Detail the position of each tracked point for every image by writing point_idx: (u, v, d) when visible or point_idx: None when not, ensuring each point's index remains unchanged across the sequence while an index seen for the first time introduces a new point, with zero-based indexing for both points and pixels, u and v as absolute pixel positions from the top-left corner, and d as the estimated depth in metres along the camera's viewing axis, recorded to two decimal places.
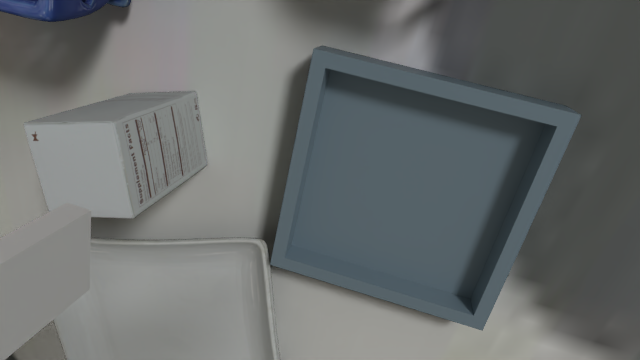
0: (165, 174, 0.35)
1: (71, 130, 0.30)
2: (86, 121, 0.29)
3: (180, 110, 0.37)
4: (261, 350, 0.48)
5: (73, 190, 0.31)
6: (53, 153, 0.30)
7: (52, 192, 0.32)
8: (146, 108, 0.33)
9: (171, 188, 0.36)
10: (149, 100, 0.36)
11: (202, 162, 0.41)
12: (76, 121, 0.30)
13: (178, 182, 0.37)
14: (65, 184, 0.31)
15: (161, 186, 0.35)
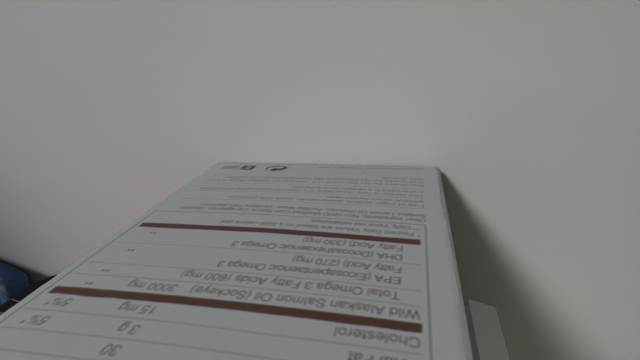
0: (352, 319, 0.06)
1: None
2: None
3: (194, 202, 0.11)
4: None
5: None
6: None
7: None
8: None
9: (449, 309, 0.06)
10: None
11: (421, 175, 0.12)
12: None
13: (439, 266, 0.08)
14: None
15: None
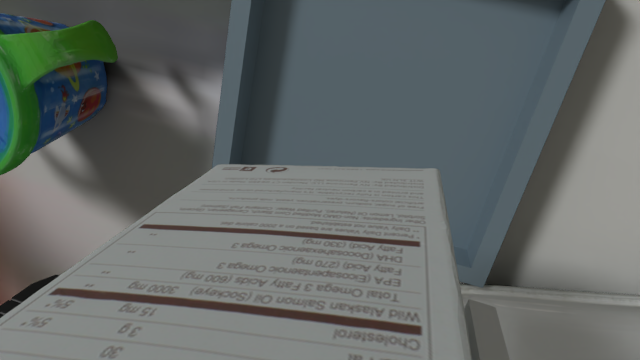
0: (351, 320, 0.06)
1: None
2: None
3: (194, 203, 0.11)
4: None
5: None
6: None
7: None
8: None
9: (449, 311, 0.06)
10: None
11: (421, 177, 0.12)
12: None
13: (439, 268, 0.08)
14: None
15: None
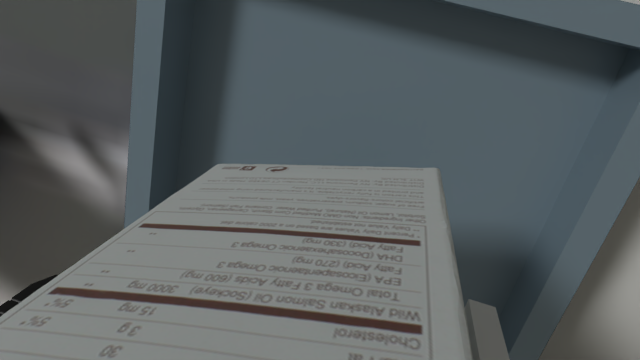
0: (352, 320, 0.06)
1: None
2: None
3: (194, 203, 0.11)
4: None
5: None
6: None
7: None
8: None
9: (449, 310, 0.06)
10: None
11: (421, 177, 0.12)
12: None
13: (439, 268, 0.08)
14: None
15: None
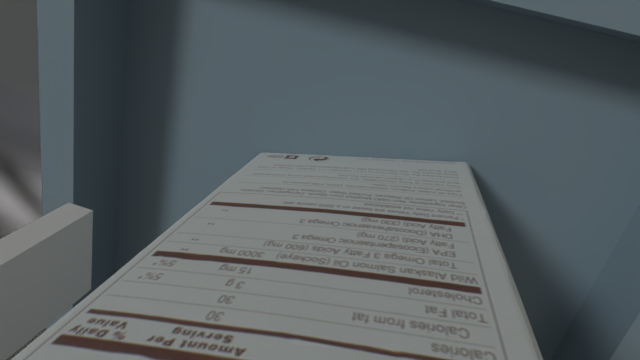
0: (421, 282, 0.07)
1: None
2: None
3: (252, 185, 0.12)
4: None
5: None
6: None
7: None
8: None
9: (501, 277, 0.08)
10: None
11: (454, 169, 0.13)
12: None
13: (486, 244, 0.09)
14: None
15: (469, 322, 0.06)
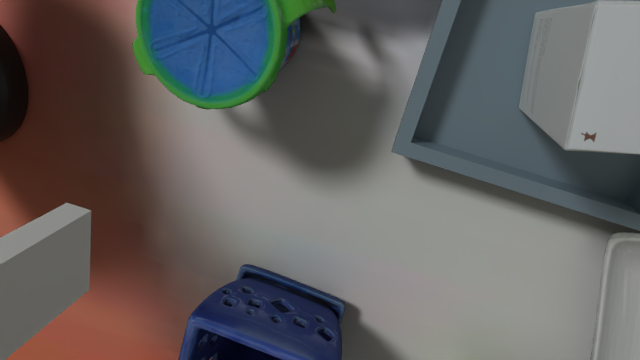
0: None
1: (593, 76, 0.21)
2: (584, 50, 0.21)
3: None
4: None
5: None
6: (620, 115, 0.21)
7: None
8: (567, 9, 0.24)
9: None
10: (546, 39, 0.28)
11: None
12: (580, 67, 0.21)
13: None
14: None
15: None
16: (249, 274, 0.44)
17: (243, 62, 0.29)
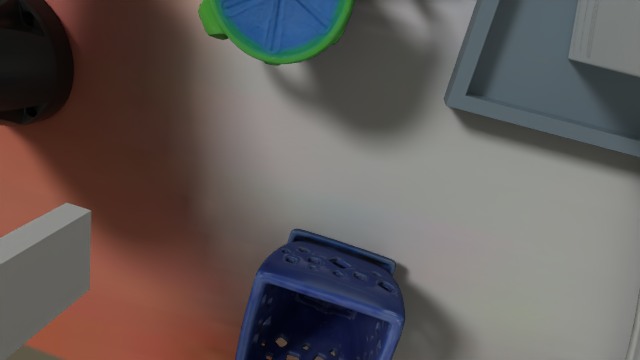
0: None
1: None
2: None
3: None
4: None
5: None
6: None
7: None
8: None
9: None
10: None
11: None
12: None
13: None
14: None
15: None
16: (299, 238, 0.46)
17: (313, 16, 0.30)
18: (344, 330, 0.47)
